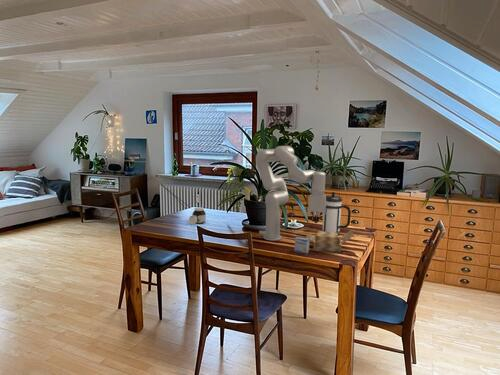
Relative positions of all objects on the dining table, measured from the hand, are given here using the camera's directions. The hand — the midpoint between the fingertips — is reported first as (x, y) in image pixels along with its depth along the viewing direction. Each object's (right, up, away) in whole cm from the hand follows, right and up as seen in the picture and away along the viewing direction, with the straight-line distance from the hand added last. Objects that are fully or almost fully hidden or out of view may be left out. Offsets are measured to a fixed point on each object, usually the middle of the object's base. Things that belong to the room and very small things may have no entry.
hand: (315, 222), depth 212 cm
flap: (+17, -12, +7) cm, 22 cm away
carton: (+6, -16, +10) cm, 20 cm away
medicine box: (-9, -18, +1) cm, 20 cm away
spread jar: (-80, -7, +58) cm, 99 cm away
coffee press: (+20, -12, +41) cm, 47 cm away
